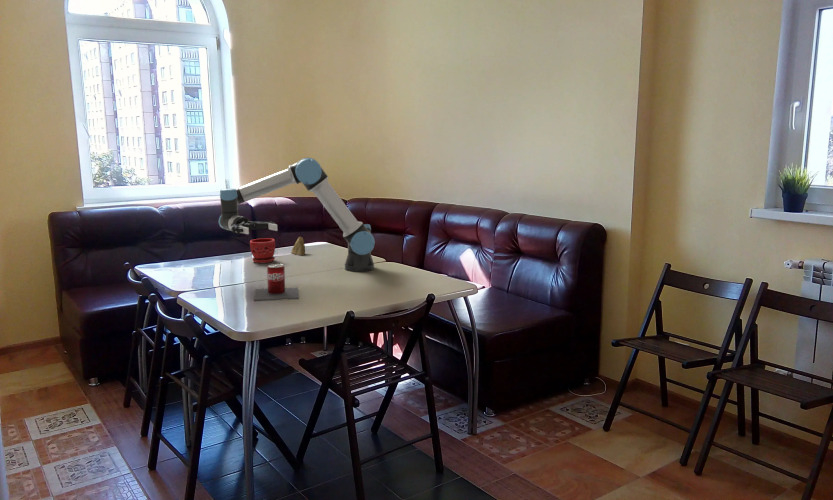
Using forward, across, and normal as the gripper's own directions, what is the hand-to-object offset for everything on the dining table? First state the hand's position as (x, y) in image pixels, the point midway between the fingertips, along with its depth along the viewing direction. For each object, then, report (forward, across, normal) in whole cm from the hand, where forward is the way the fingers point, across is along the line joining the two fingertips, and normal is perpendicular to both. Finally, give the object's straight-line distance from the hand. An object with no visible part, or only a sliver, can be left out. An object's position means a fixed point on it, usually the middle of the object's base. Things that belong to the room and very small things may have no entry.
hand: (262, 229), depth 264 cm
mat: (+10, 0, -27) cm, 29 cm away
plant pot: (-58, -29, -27) cm, 70 cm away
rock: (-64, -55, -28) cm, 89 cm away
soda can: (+10, 0, -27) cm, 28 cm away
